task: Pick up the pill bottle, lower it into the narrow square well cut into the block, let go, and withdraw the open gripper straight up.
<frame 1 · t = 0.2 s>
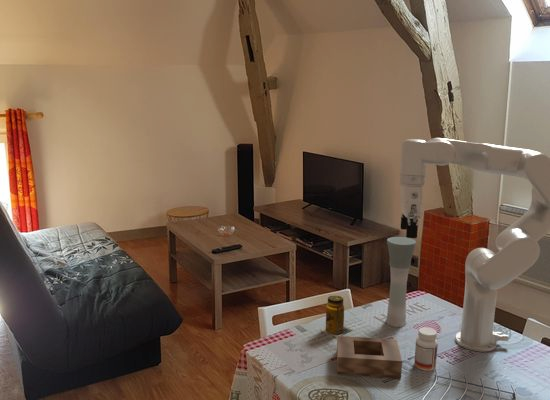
hand: (408, 233, 162), 36 cm above the table, tool pointing down, fingers open, 9 cm apart
pill bottle: (424, 366, 154), on the table
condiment: (336, 331, 176), on the table
well block: (367, 364, 154), on the table
container: (396, 322, 182), on the table
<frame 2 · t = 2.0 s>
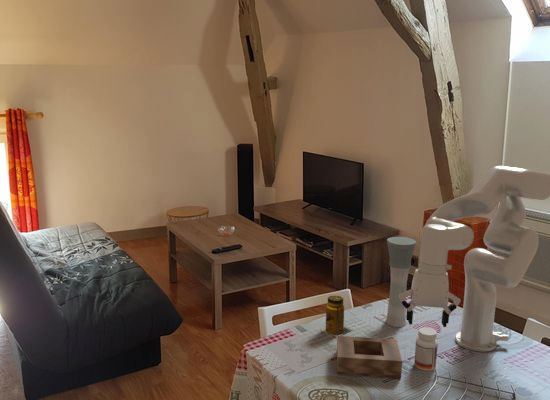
hand: (426, 323, 150), 14 cm above the table, tool pointing down, fingers open, 9 cm apart
nothing on the table moved.
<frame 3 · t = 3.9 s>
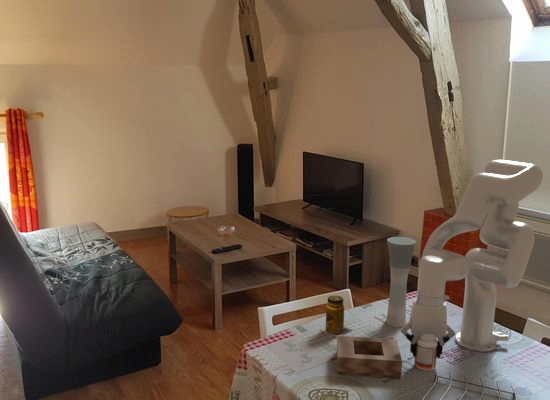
hand: (425, 354, 153), 4 cm above the table, tool pointing down, fingers closed on pill bottle, 6 cm apart
pill bottle: (424, 366, 154), on the table, touching gripper
everything else where it was.
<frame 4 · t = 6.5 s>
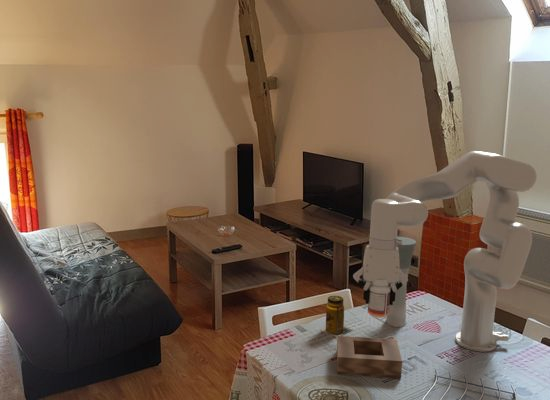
hand: (378, 302, 150), 20 cm above the table, tool pointing down, fingers closed on pill bottle, 6 cm apart
pill bottle: (378, 314, 150), point 16 cm above the table, touching gripper
everything else where it was.
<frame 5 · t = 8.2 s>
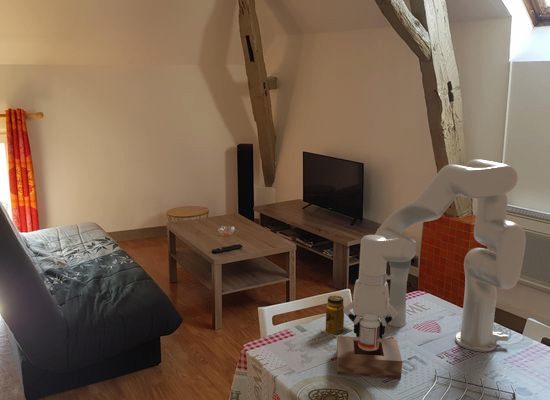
hand: (368, 335, 152), 10 cm above the table, tool pointing down, fingers closed on pill bottle, 6 cm apart
pill bottle: (368, 347, 153), point 6 cm above the table, touching gripper
everything else where it was.
when the fingers open (6 cm above the table, at t = 9.6 s): pill bottle drops 2 cm, resting on well block.
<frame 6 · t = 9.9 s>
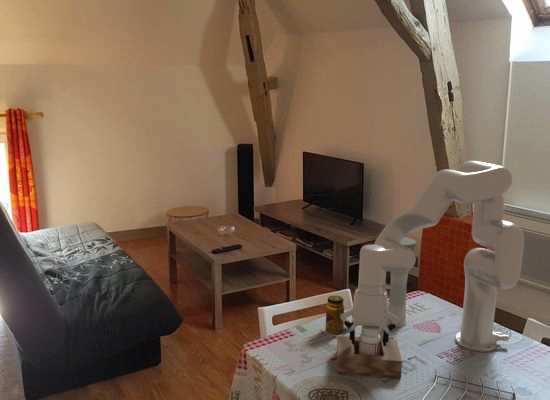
hand: (368, 342, 152), 7 cm above the table, tool pointing down, fingers open, 8 cm apart
pill bottle: (368, 362, 154), point 1 cm above the table, touching well block
everything else where it was.
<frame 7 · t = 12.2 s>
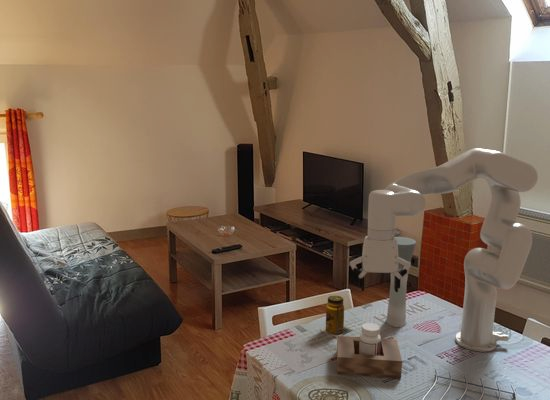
hand: (379, 289, 151), 23 cm above the table, tool pointing down, fingers open, 9 cm apart
nothing on the table moved.
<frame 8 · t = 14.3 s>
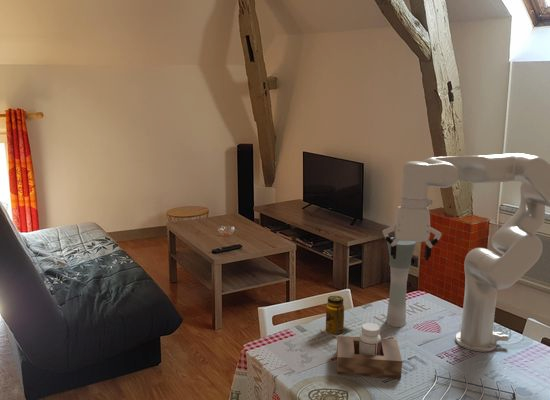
hand: (410, 258, 156), 30 cm above the table, tool pointing down, fingers open, 9 cm apart
nothing on the table moved.
at the end: pill bottle 0.4 cm off-centre on the well block, point 0.8 cm above the well block's base; pill bottle tilted 0°; the gripper is holding nothing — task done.
